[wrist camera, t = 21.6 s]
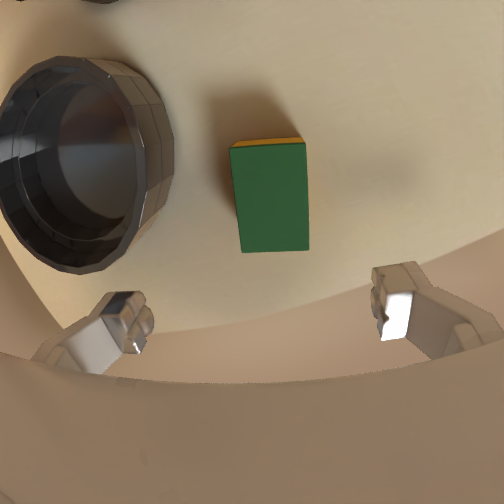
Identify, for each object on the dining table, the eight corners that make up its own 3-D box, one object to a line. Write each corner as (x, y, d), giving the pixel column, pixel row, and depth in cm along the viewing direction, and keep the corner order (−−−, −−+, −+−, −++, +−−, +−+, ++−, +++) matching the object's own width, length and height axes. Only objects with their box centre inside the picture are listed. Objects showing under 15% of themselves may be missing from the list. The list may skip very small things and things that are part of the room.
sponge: (306, 229, 22) (309, 250, 19) (247, 231, 23) (241, 253, 20) (301, 137, 19) (305, 143, 16) (237, 141, 19) (228, 148, 16)
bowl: (220, 177, 21) (200, 202, 16) (93, 269, 26) (64, 301, 22) (109, 23, 15) (67, 11, 10) (12, 148, 21) (-26, 162, 16)
